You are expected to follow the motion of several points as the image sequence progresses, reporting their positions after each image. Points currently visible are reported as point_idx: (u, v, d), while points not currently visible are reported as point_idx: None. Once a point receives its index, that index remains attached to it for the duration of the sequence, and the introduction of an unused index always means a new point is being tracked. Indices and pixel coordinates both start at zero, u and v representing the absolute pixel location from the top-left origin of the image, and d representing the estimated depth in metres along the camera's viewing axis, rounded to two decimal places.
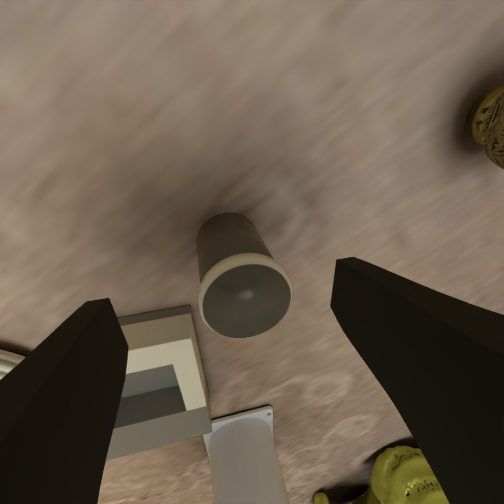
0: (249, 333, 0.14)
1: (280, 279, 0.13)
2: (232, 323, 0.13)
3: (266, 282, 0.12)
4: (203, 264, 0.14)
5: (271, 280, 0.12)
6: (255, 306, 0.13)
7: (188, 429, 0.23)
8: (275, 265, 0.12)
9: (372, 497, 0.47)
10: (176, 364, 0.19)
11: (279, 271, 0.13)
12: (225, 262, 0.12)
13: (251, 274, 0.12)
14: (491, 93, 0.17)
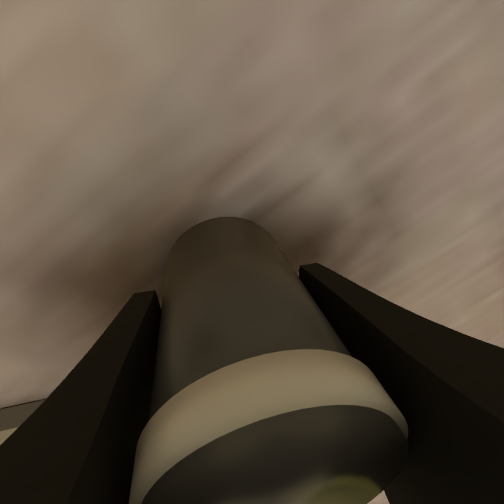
0: None
1: (390, 437, 0.04)
2: None
3: (348, 451, 0.04)
4: (160, 353, 0.05)
5: (363, 444, 0.04)
6: (304, 500, 0.04)
7: None
8: (376, 394, 0.04)
9: None
10: None
11: (387, 412, 0.04)
12: (212, 395, 0.04)
13: (304, 443, 0.03)
14: None
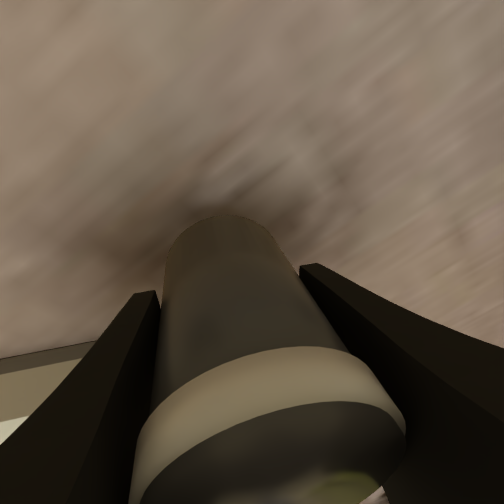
0: None
1: (388, 433, 0.04)
2: None
3: (347, 447, 0.04)
4: (160, 350, 0.06)
5: (362, 441, 0.04)
6: (302, 496, 0.04)
7: None
8: (374, 391, 0.04)
9: None
10: None
11: (385, 408, 0.04)
12: (211, 391, 0.04)
13: (302, 439, 0.03)
14: None
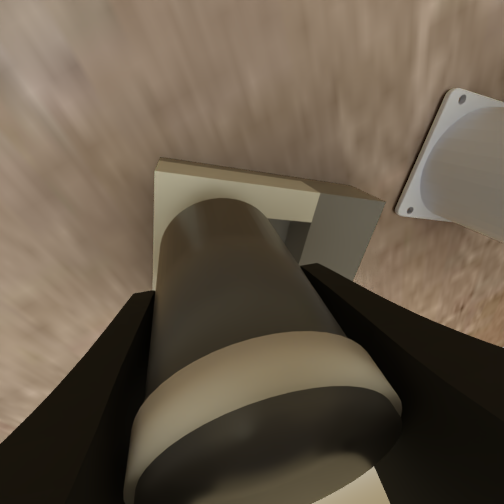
0: None
1: (383, 415, 0.04)
2: None
3: (341, 429, 0.04)
4: (153, 339, 0.05)
5: (356, 423, 0.04)
6: (298, 476, 0.04)
7: (353, 231, 0.15)
8: (368, 374, 0.04)
9: None
10: None
11: (380, 390, 0.04)
12: (200, 381, 0.03)
13: (294, 425, 0.03)
14: None
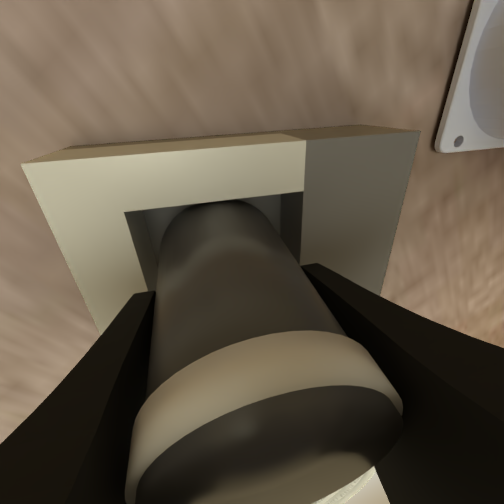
0: None
1: (383, 414, 0.04)
2: None
3: (341, 428, 0.04)
4: (153, 340, 0.05)
5: (356, 422, 0.04)
6: (299, 475, 0.04)
7: (374, 190, 0.10)
8: (367, 373, 0.04)
9: None
10: (126, 204, 0.08)
11: (380, 389, 0.04)
12: (199, 381, 0.03)
13: (293, 425, 0.03)
14: None
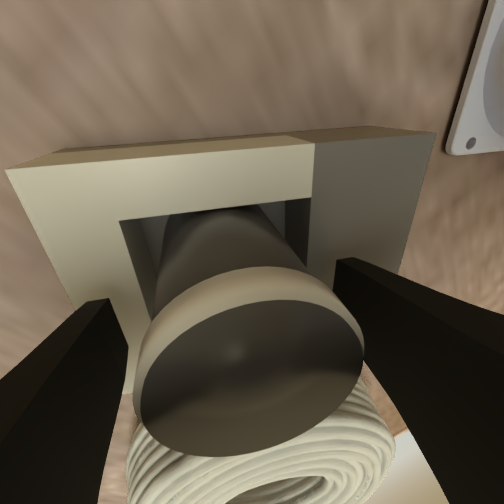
0: (266, 443, 0.06)
1: (341, 332, 0.05)
2: (225, 434, 0.06)
3: (307, 342, 0.05)
4: (157, 293, 0.06)
5: (319, 337, 0.05)
6: (277, 395, 0.05)
7: (385, 196, 0.09)
8: (327, 296, 0.05)
9: None
10: (121, 212, 0.07)
11: (337, 311, 0.05)
12: (192, 298, 0.04)
13: (265, 329, 0.04)
14: None
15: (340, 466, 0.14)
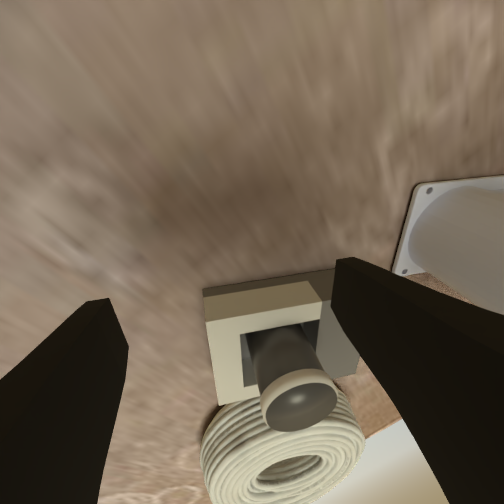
0: (302, 427, 0.16)
1: (329, 391, 0.15)
2: (289, 423, 0.16)
3: (318, 394, 0.15)
4: (260, 369, 0.17)
5: (322, 393, 0.15)
6: (308, 410, 0.16)
7: None
8: (325, 380, 0.15)
9: None
10: (241, 331, 0.18)
11: (328, 384, 0.15)
12: (284, 381, 0.15)
13: (306, 391, 0.15)
14: None
15: (330, 450, 0.25)
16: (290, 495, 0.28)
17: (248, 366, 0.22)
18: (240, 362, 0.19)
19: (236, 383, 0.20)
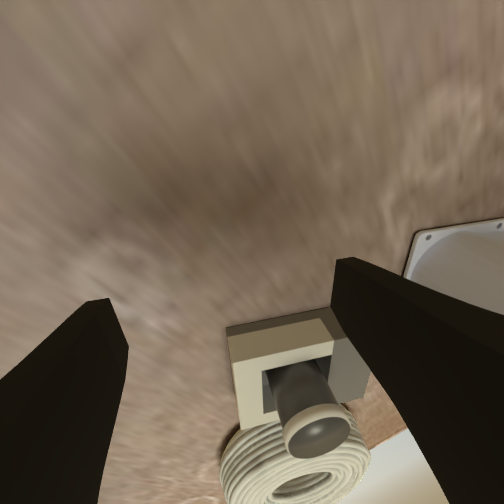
0: (319, 454, 0.19)
1: (343, 423, 0.17)
2: (308, 451, 0.18)
3: (334, 426, 0.17)
4: (280, 402, 0.19)
5: (337, 425, 0.17)
6: (325, 439, 0.18)
7: None
8: (339, 414, 0.17)
9: None
10: (263, 368, 0.20)
11: (342, 417, 0.17)
12: (303, 416, 0.17)
13: (323, 425, 0.17)
14: None
15: (339, 467, 0.27)
16: None
17: (266, 393, 0.24)
18: (261, 393, 0.21)
19: (257, 411, 0.22)
